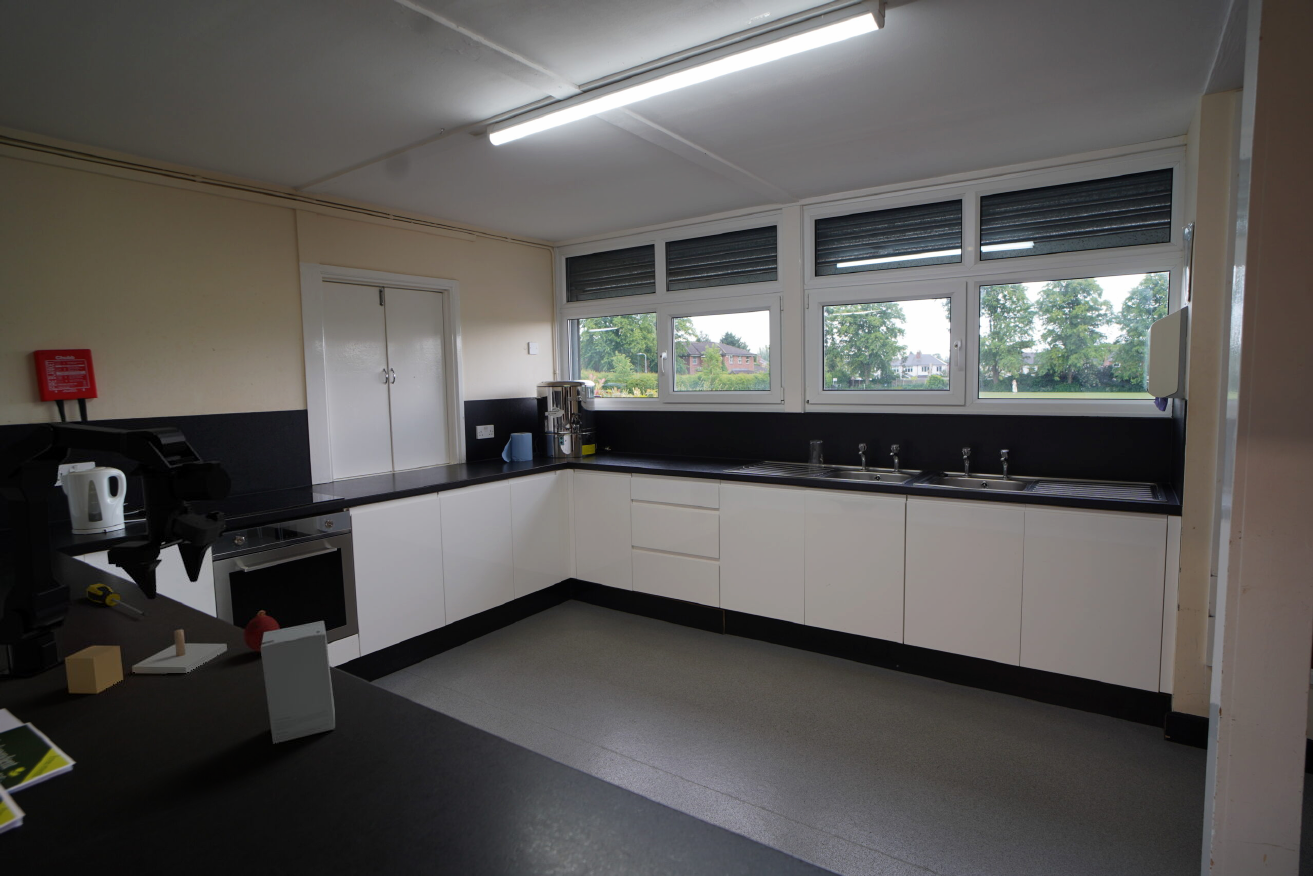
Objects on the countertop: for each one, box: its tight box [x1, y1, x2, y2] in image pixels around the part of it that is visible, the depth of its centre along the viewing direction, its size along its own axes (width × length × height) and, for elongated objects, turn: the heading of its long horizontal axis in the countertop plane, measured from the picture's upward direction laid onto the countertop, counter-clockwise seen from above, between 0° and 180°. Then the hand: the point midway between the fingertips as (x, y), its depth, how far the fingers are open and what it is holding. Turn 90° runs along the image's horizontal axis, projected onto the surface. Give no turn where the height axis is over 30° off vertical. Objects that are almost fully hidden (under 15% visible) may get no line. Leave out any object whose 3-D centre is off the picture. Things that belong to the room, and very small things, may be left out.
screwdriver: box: [85, 583, 147, 617], centre depth 153 cm, size 3×3×30 cm
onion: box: [243, 610, 281, 654], centre depth 126 cm, size 6×6×8 cm
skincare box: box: [260, 620, 336, 745], centre depth 98 cm, size 8×6×15 cm
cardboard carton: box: [64, 645, 124, 694], centre depth 114 cm, size 5×5×6 cm
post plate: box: [131, 629, 228, 674], centre depth 123 cm, size 10×10×6 cm
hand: (173, 590), depth 118 cm, fingers open, 9 cm apart
